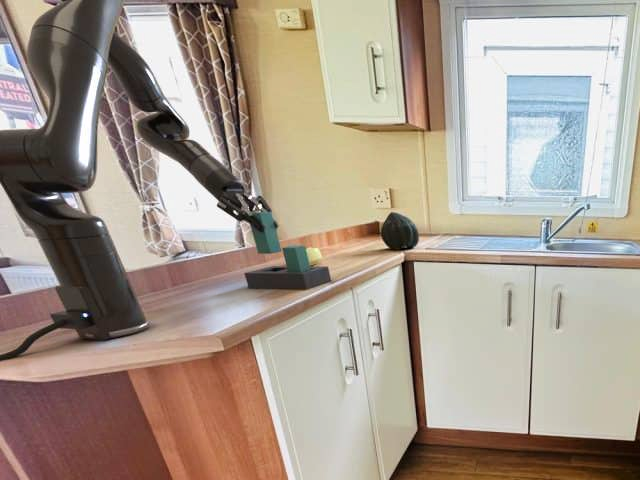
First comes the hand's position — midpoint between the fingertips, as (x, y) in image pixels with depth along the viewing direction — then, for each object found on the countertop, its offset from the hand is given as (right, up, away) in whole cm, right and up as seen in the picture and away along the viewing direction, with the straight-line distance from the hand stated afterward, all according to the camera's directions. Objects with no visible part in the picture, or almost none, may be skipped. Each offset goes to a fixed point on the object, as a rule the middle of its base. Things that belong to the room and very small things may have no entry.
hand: (269, 228), depth 110 cm
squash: (+17, +16, +67) cm, 71 cm away
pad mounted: (+6, -14, +5) cm, 16 cm away
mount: (+2, -13, +6) cm, 15 cm away
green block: (-2, -5, +3) cm, 6 cm away
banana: (-9, 0, +35) cm, 36 cm away
